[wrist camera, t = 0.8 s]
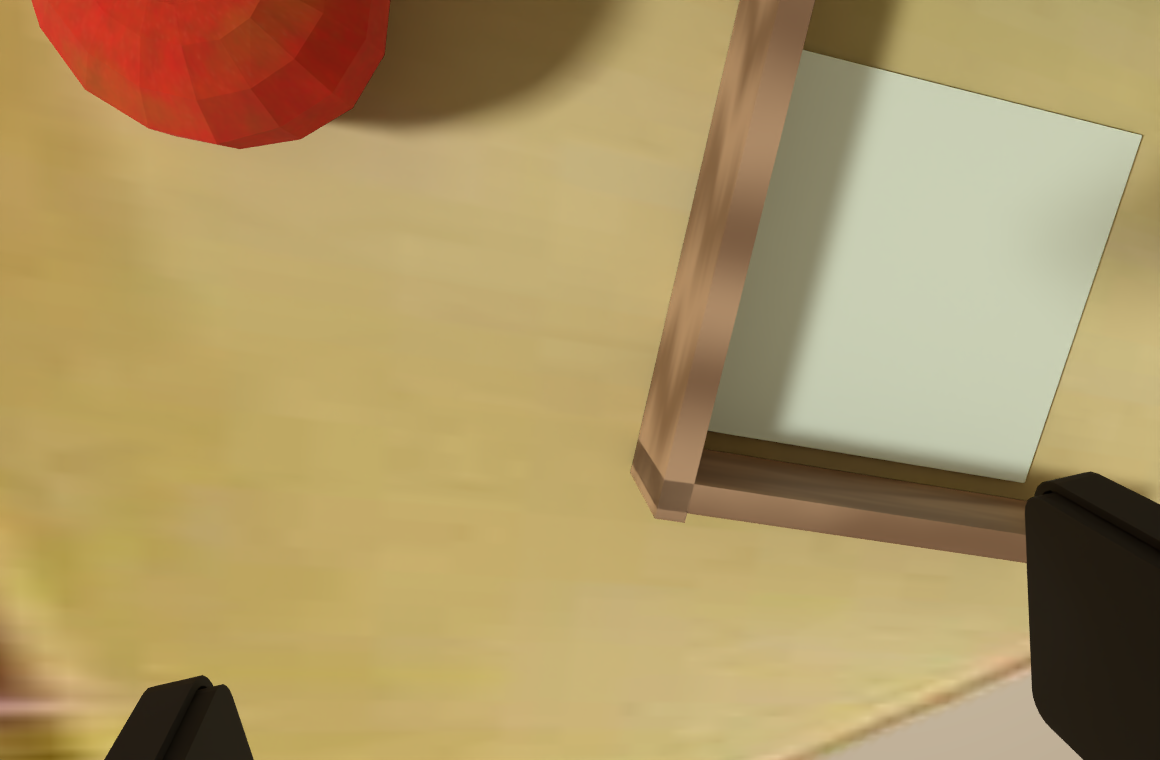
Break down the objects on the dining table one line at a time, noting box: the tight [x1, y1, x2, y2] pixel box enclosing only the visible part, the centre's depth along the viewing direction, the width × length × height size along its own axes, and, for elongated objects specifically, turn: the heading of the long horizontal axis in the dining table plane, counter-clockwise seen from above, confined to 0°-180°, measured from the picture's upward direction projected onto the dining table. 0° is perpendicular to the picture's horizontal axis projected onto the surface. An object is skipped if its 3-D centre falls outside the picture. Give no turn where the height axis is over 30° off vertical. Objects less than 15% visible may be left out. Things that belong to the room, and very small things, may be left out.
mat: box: [708, 50, 1142, 483], centre depth 38 cm, size 16×16×1 cm
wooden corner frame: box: [630, 0, 1027, 563], centre depth 35 cm, size 23×20×5 cm
